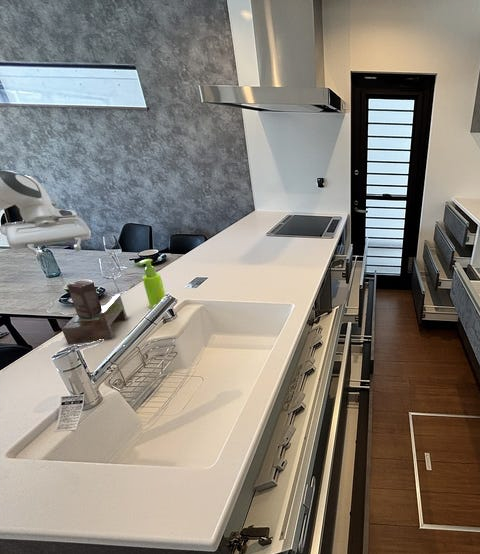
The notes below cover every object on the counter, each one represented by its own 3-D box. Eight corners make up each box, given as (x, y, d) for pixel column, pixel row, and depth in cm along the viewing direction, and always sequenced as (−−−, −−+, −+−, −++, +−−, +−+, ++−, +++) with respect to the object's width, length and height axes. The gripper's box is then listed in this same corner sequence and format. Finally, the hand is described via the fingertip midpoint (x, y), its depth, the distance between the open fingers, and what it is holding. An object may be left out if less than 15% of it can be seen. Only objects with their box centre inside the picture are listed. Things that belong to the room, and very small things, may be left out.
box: (104, 313, 106) (94, 282, 101) (91, 320, 102) (79, 287, 97) (91, 310, 107) (80, 279, 102) (77, 317, 103) (64, 285, 98)
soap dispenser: (144, 308, 122) (131, 262, 114) (159, 300, 128) (147, 256, 120) (156, 310, 121) (144, 264, 113) (170, 303, 127) (160, 258, 119)
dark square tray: (67, 344, 99) (56, 318, 95) (88, 322, 111) (79, 298, 107) (112, 338, 103) (103, 313, 99) (127, 318, 115) (120, 294, 111)
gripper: (-5, 218, 94) (13, 255, 93) (80, 210, 110) (98, 242, 109) (-2, 229, 98) (16, 265, 97) (81, 220, 114) (97, 251, 113)
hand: (60, 253), depth 103 cm, fingers open, 8 cm apart
